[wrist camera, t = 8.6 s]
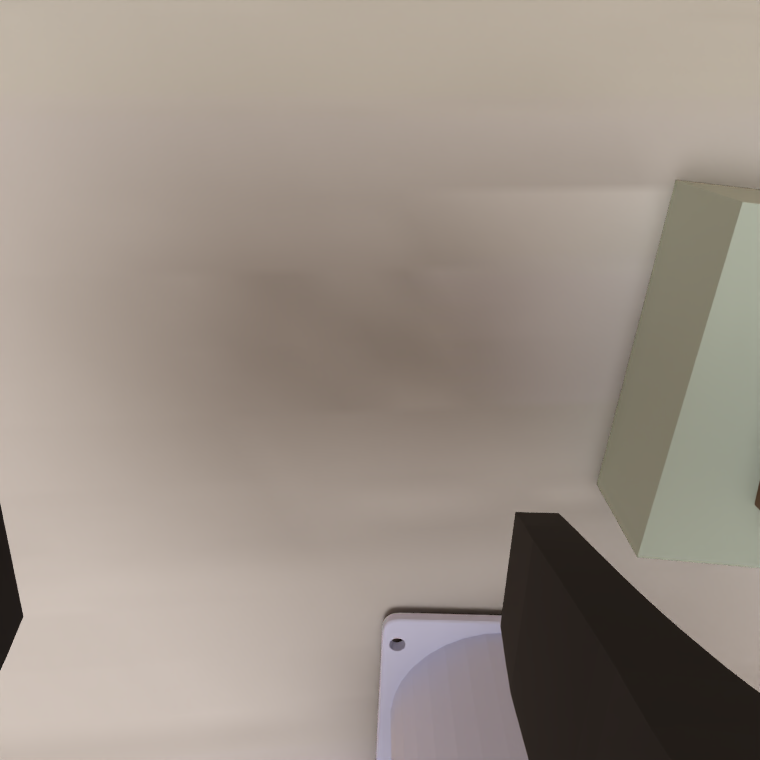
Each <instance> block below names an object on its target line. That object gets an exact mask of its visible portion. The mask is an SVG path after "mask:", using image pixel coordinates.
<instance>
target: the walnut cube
mask: <svg viewBox="0 0 760 760" xmlns="http://www.w3.org/2000/svg"><path fill="white" fill-rule="evenodd" d="M755 506H756V507H757V508H758V509H759V510H760V482H759V486H758V491H757V495H756V500H755Z"/></svg>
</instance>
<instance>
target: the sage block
mask: <svg viewBox="0 0 760 760" xmlns="http://www.w3.org/2000/svg"><path fill="white" fill-rule="evenodd" d="M759 482H760V190H759V189H750V188H741V187H733V186H724V185H715V184H706V183H698V182H689V181H680V180H676V181H675V185H674V189H673V193H672V197H671V201H670V204H669V208H668V212H667V216H666V220H665V224H664V227H663V231H662V235H661V239H660V243H659V247H658V251H657V254H656V258H655V262H654V266H653V270H652V274H651V278H650V281H649V285H648V289H647V293H646V297H645V301H644V305H643V308H642V312H641V316H640V320H639V324H638V328H637V332H636V335H635V339H634V343H633V347H632V351H631V355H630V358H629V362H628V366H627V370H626V374H625V378H624V382H623V385H622V389H621V393H620V397H619V401H618V405H617V409H616V412H615V416H614V420H613V424H612V428H611V432H610V436H609V439H608V443H607V447H606V451H605V455H604V459H603V463H602V466H601V470H600V474H599V478H598V482H597V485H598V487H599V489H600V491H601V493H602V494H603V496H604V498H605V500H606V502H607V504H608V505H609V507H610V509H611V511H612V513H613V514H614V516H615V518H616V520H617V522H618V523H619V525H620V527H621V529H622V531H623V533H624V534H625V536H626V538H627V540H628V542H629V543H630V545H631V547H632V549H633V551H634V552H635V554H636V556H637V557H638V558H650V559H661V560H672V561H684V562H695V563H706V564H717V565H729V566H740V567H751V568H760V510H759V509H758V508H757V507H756V506H755V500H756V495H757V491H758V486H759Z"/></svg>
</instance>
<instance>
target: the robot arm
mask: <svg viewBox="0 0 760 760" xmlns="http://www.w3.org/2000/svg"><path fill="white" fill-rule="evenodd" d="M22 618H23V613H22V608H21V603H20V598H19V593H18V588H17V584H16V579H15V574H14V569H13V564H12V559H11V554H10V549H9V544H8V540H7V535H6V530H5V525H4V520H3V515H2V510H1V505H0V670H1V668H2V665H3V663H4V661H5V659H6V657H7V654H8V652H9V650H10V647H11V645H12V642H13V640H14V637H15V635H16V633H17V630H18V628H19V625H20V623H21V621H22ZM396 638H399V639H402V641H401V642H393V641H391V640H393V639H396ZM376 760H760V693H759V692H758V691H756V690H755V689H754V688H752V687H751V686H750V685H748V684H747V683H746V682H744V681H743V680H742V679H740V678H739V677H738V676H737V675H735V674H734V673H733V672H731V671H730V670H729V669H728V668H726V667H725V666H724V665H723V664H721V663H720V662H719V661H718V660H717V659H715V658H714V657H713V656H712V655H711V654H709V653H708V652H707V651H706V650H705V649H703V648H702V647H701V646H700V645H699V644H697V643H696V642H695V641H694V640H693V639H691V638H690V637H689V636H688V635H687V634H685V633H684V632H683V631H682V630H681V629H680V628H678V627H677V626H676V625H675V624H674V623H673V622H672V621H670V620H669V619H668V618H667V617H666V616H665V615H664V614H663V613H661V612H660V611H659V610H658V609H657V608H656V607H655V606H654V605H653V604H652V603H650V602H649V601H648V600H647V599H646V598H645V597H644V596H643V595H642V594H641V593H640V592H639V591H638V590H637V589H635V588H634V587H633V586H632V585H631V584H630V583H629V582H628V581H627V580H626V579H625V578H624V577H623V576H622V575H621V574H620V573H619V572H618V571H617V570H616V569H615V568H614V567H613V566H612V565H611V564H610V563H609V562H607V561H606V560H605V559H604V558H603V557H602V556H601V555H600V554H599V553H598V552H597V551H596V550H595V549H594V548H593V547H592V546H591V545H590V544H589V543H588V542H587V541H586V540H585V539H584V538H583V537H582V536H581V535H580V534H579V533H578V532H577V531H576V530H575V529H574V528H573V527H572V526H571V525H570V524H569V523H568V522H567V521H566V520H565V519H564V518H563V517H562V516H561V515H560V514H559V513H526V512H516V513H515V520H514V528H513V535H512V542H511V550H510V557H509V565H508V572H507V580H506V587H505V595H504V602H503V609H502V615H469V614H430V613H392V614H390V615H388V616H387V617H386V618H385V619H384V621H383V624H382V642H381V662H380V683H379V703H378V723H377V744H376Z"/></svg>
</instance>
